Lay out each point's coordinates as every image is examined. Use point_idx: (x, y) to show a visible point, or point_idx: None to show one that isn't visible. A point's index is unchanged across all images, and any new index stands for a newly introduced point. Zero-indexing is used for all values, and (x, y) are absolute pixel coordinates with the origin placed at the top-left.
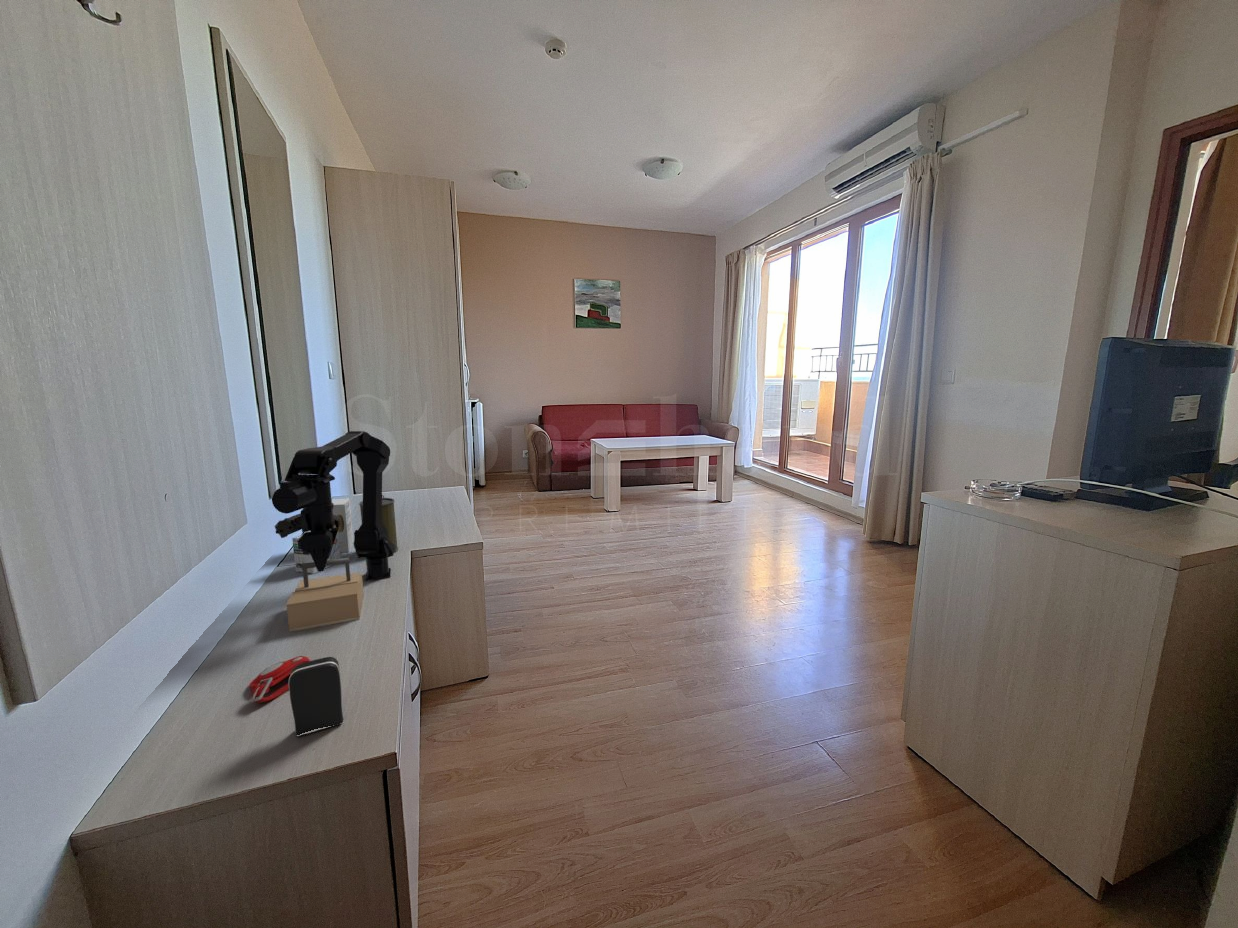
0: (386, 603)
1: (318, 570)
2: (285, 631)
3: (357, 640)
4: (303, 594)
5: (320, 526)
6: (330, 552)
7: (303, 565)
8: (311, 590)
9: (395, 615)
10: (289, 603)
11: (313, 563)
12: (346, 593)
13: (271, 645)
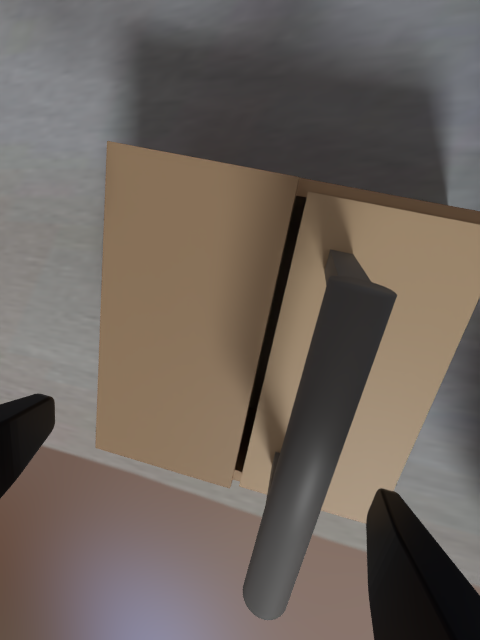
0: None
1: (29, 400)
2: (186, 141)
3: (15, 349)
4: (216, 237)
5: None
6: (370, 598)
7: (330, 304)
8: (258, 282)
9: (125, 466)
10: (117, 158)
11: (309, 393)
12: (116, 416)
13: (88, 92)
